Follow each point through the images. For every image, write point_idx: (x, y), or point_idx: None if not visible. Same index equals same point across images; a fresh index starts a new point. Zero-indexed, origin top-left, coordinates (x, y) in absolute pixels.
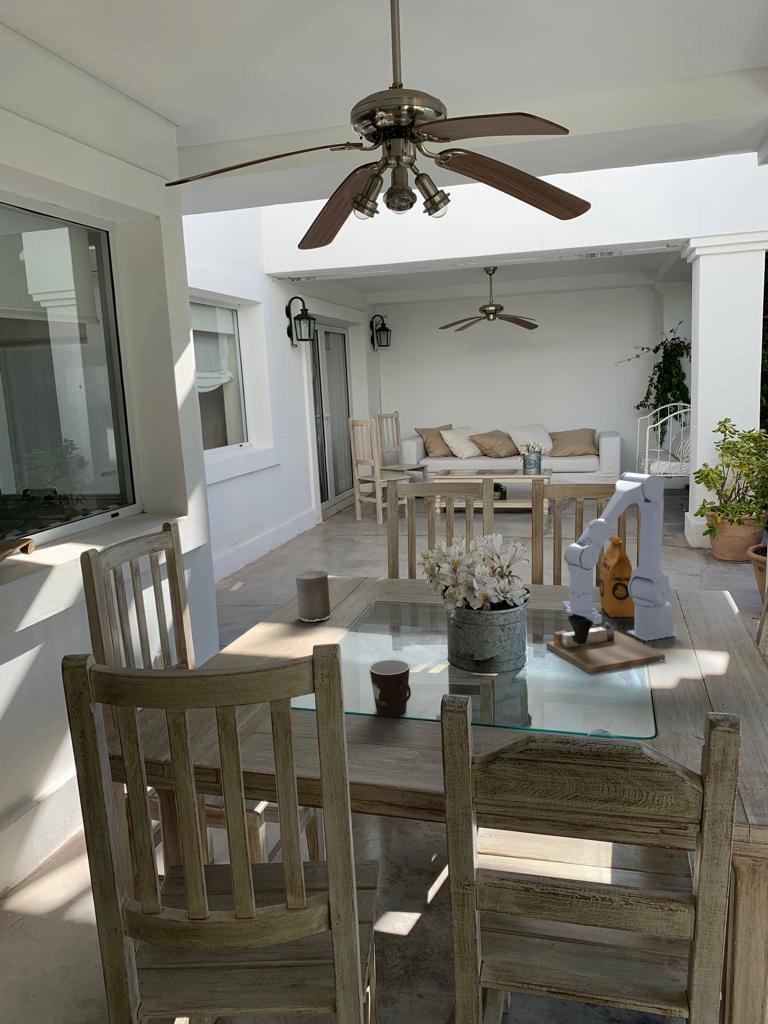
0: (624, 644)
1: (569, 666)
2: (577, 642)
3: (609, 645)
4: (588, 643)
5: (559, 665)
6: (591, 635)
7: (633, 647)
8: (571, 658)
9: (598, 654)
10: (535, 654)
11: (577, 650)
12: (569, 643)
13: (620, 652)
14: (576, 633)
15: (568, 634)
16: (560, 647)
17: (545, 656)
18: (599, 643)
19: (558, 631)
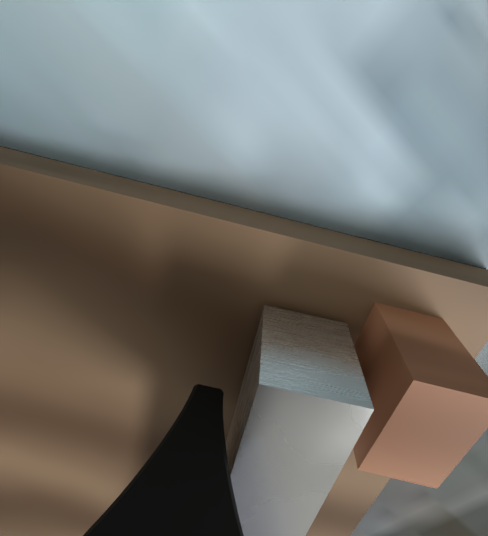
0: None
1: (47, 96)
2: (210, 395)
3: None
4: None
5: (107, 35)
6: None
7: (62, 528)
8: (91, 182)
9: (41, 365)
10: (481, 64)
11: (183, 328)
12: (255, 348)
13: (21, 457)
14: (180, 470)
15: (294, 432)
16: (327, 286)
17: (364, 107)
18: None
19: (470, 444)
